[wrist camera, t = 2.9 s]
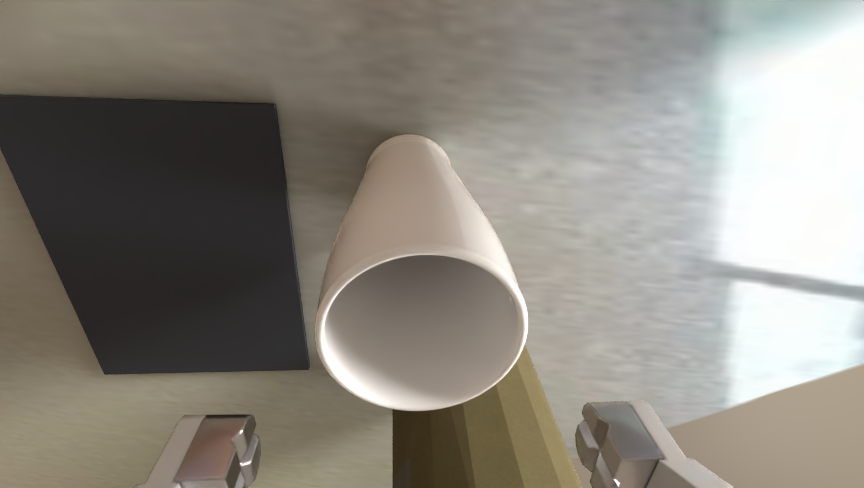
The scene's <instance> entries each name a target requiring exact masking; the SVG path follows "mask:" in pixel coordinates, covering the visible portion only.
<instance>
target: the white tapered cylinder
mask: <svg viewBox="0 0 864 488" xmlns="http://www.w3.org/2000/svg"><path fill="white" fill-rule="evenodd" d="M527 332H528V314H527V309H526V304H525V301H524V298H523V296H522V294H521V291H520V288H519V285H518V282H517V279H516V276H515V274H514V271H513V269H512V266H511V264H510V261H509V259H508V257H507V254H506V252H505V250H504V248H503V246H502V244H501V242H500V240H499V237H498V236H497V234H496V232H495V230H494V228H493V227H492V225H491V223H490V222H489V220H488V219H487V217H486V215H485V214H484V212H483V211H482V209H481V208H480V207H479V205H478V204H477V202H476V201H475V199H474V198H473V196H472V195H471V194H470V192H469V191H468V189H467V188H466V186H465V185H464V183H463V182H462V181H461V179H460V178H459V176H458V175H457V173H456V172H455V170H454V169H453V167H452V165H451V162H450V160H449V158H448V156H447V154H446V153H445V152H444V150H443V149H442V148H441V147H440V146H439V145H438V144H436V143H435V142H433V141H432V140H430V139H428V138H426V137H423V136H419V135H413V134H405V135H398V136H395V137H392V138H390V139H388V140H386V141H384V142H383V143H382V144H380V145H379V146H378V147H377V148H376V149H375V150H374V152H373V153H372V154H371V156H370V158H369V160H368V162H367V165H366V169H365V174H364V176H363V178H362V181H361V183H360V185H359V187H358V189H357V192H356V194H355V196H354V198H353V200H352V202H351V204H350V207H349V209H348V211H347V213H346V215H345V217H344V219H343V221H342V224H341V226H340V228H339V230H338V233H337V236H336V238H335V241H334V243H333V246H332V249H331V252H330V255H329V258H328V262H327V266H326V270H325V273H324V277H323V282H322V286H321V291H320V297H319V303H318V309H317V314H316V319H315V326H314V336H315V344H316V348H317V352H318V355H319V357H320V360H321V362H322V363H323V365H324V367H325V369H326V370H327V371H328V373H329V374H330V375H331V377H332V378H333V379H334V380H335V381H336V382H337V383H338V384H339V385H340V386H342V387H343V388H344V389H345V390H347V391H348V392H350V393H351V394H353V395H354V396H356V397H358V398H360V399H362V400H364V401H367V402H369V403H371V404H374V405H378V406H381V407H385V408H389V409H395V410H403V411H428V410H436V409H442V408H446V407H451V406H454V405H457V404H460V403H463V402H466V401H468V400H470V399H473V398H475V397H477V396H479V395H480V394H482V393H484V392H485V391H487V390H488V389H490V388H491V387H493V386H494V385H495V384H497V383H498V382H499V381H500V380H501V379H502V378H503V377H504V376H505V375H506V374H507V373H508V372H509V371H510V370H511V368H512V367H513V366H514V364H515V363H516V361H517V360H518V358H519V356H520V354H521V352H522V350H523V347H524V344H525V341H526V337H527Z"/></svg>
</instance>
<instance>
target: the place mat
mask: <svg viewBox="0 0 864 488" xmlns="http://www.w3.org/2000/svg"><path fill="white" fill-rule="evenodd" d="M0 148H1V150H2V153H3V155H4V157H5V159H6V161H7V163H8V166H9V168H10V170H11V172H12V174H13V176H14V179H15V181H16V183H17V185H18V187H19V190H20V192H21V194H22V196H23V198H24V200H25V203H26V205H27V207H28V209H29V211H30V213H31V216H32V218H33V220H34V222H35V224H36V226H37V229H38V231H39V233H40V235H41V237H42V240H43V242H44V244H45V246H46V248H47V250H48V253H49V255H50V257H51V259H52V261H53V263H54V266H55V268H56V270H57V272H58V274H59V276H60V279H61V281H62V283H63V285H64V287H65V290H66V292H67V294H68V296H69V298H70V300H71V303H72V305H73V307H74V309H75V311H76V313H77V316H78V318H79V320H80V322H81V324H82V327H83V329H84V331H85V333H86V335H87V337H88V340H89V342H90V344H91V346H92V348H93V350H94V353H95V355H96V357H97V359H98V361H99V363H100V366H101V368H102V370H103V372H104V374H105V375H107V374H149V373H191V372H234V371H276V370H309V367H310V364H309V356H308V349H307V341H306V333H305V325H304V318H303V310H302V302H301V295H300V287H299V279H298V271H297V264H296V256H295V248H294V241H293V233H292V225H291V217H290V210H289V202H288V194H287V187H286V179H285V171H284V163H283V156H282V148H281V140H280V132H279V125H278V117H277V109H276V104H267V103H237V102H206V101H176V100H145V99H114V98H84V97H53V96H23V95H0Z"/></svg>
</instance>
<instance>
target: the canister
mask: <svg viewBox="0 0 864 488" xmlns="http://www.w3.org/2000/svg"><path fill="white" fill-rule="evenodd" d="M393 488H582V486H581V484H580V481H579V479H578V476H577V474H576V471H575V468H574V466H573V463H572V461H571V458H570V456H569V453H568V451H567V448H566V446H565V443H564V441H563V438H562V436H561V433H560V431H559V428H558V426H557V423H556V421H555V418H554V416H553V413H552V411H551V408H550V406H549V403H548V401H547V398H546V396H545V393H544V391H543V388H542V386H541V383H540V381H539V378H538V376H537V373H536V371H535V368H534V366H533V363H532V361H531V358H530V356H529V353H528V351H527V348H526V346H525V344H524V347H523V350H522V352H521V354H520V356H519V358H518V360H517V361H516V363H515V364H514V366H513V367H512V368H511V370H510V371H509V372H508V373H507V374H506V375H505V376H504V377H503V378H502V379H501V380H500V381H499V382H498V383H497V384H495V385H494V386H493V387H491V388H490V389H488V390H487V391H485V392H484V393H482V394H480V395H479V396H477V397H475V398H473V399H470V400H468V401H466V402H463V403H460V404H457V405H454V406H451V407H446V408H442V409H436V410H428V411H403V410H395V409H393Z"/></svg>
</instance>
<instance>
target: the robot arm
mask: <svg viewBox="0 0 864 488" xmlns="http://www.w3.org/2000/svg"><path fill="white" fill-rule="evenodd" d="M582 415H583V417H584V419H585V420H583V421H582V422H581V423H580V424H578V426H577V430H576V434H575V437H576V448H577V451H578V455H579V457H580V460H581V462H582V464H583V465H584V466H585V467H586V468H587V469H588V470H590V471H591V472H592V475H591V479H590V483H591V486H592V488H734V487H732V486H731V485H730V484H728V483H727V482H725V481H724V480H722V479H721V478H720V477H718V476H717V475H715V474H714V473H712V472H711V471H709V470H708V469H707V468H705V467H704V466H702V465H701V464H700V463H698V462H697V461H695V460H694V459H687V458H686V457H685V456H684V454H683V453H682V451H681V450H680V448H679V447H678V445H677V444H676V442H675V441H674V439H673V438H672V436H671V435H670V433H669V432H668V431H667V429H666V428H665V426H664V425H663V423H662V422H661V420H660V419H659V417H658V416H657V414H656V413H655V411H654V410H653V408H652V407H651V406H650V404H649V403H647V402H646V401H625V402H624V401H614V402H593V403H587V404H586V405H584V407H583V410H582ZM255 426H256V422H255V418H254V415H184V416H183V417H182V418H181V419H180V420H179V421H178V423H177V424H176V426H175V428H174V430H173V432H172V434H171V435H170V437H169V439H168V441H167V443H166V445H165V447H164V448H163V450H162V452H161V454H160V456H159V458H158V459H157V461H156V463H155V465H154V467H153V469H152V470H151V472H150V474H149V476H148V478H147V480H146V482H145V483H144V484H138V485H136V486H134V487H133V488H247V487H248V486H249V485H250V484H251V483H252V482H253V481H254V480H255V478H256V475H257V471H258V468H259V462H260V455H261V449H260V440H259V437H258V436H257V435H256V434H254V429H255Z"/></svg>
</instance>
